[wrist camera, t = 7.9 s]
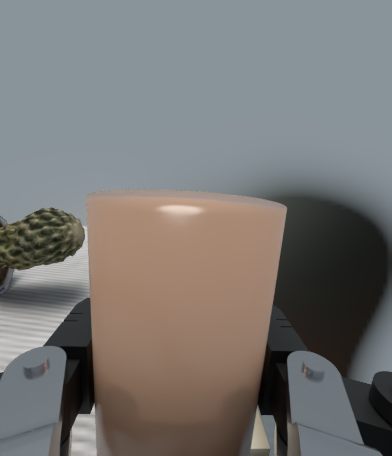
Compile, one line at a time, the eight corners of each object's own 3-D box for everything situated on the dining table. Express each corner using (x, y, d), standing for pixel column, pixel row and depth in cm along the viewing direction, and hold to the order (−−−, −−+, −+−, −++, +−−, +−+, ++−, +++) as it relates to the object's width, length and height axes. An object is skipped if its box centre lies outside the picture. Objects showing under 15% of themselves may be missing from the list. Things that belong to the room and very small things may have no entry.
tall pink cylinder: (74, 639, 7) (35, 206, 4) (121, 440, 11) (118, 186, 9) (253, 630, 7) (334, 222, 4) (224, 440, 12) (253, 194, 9)
